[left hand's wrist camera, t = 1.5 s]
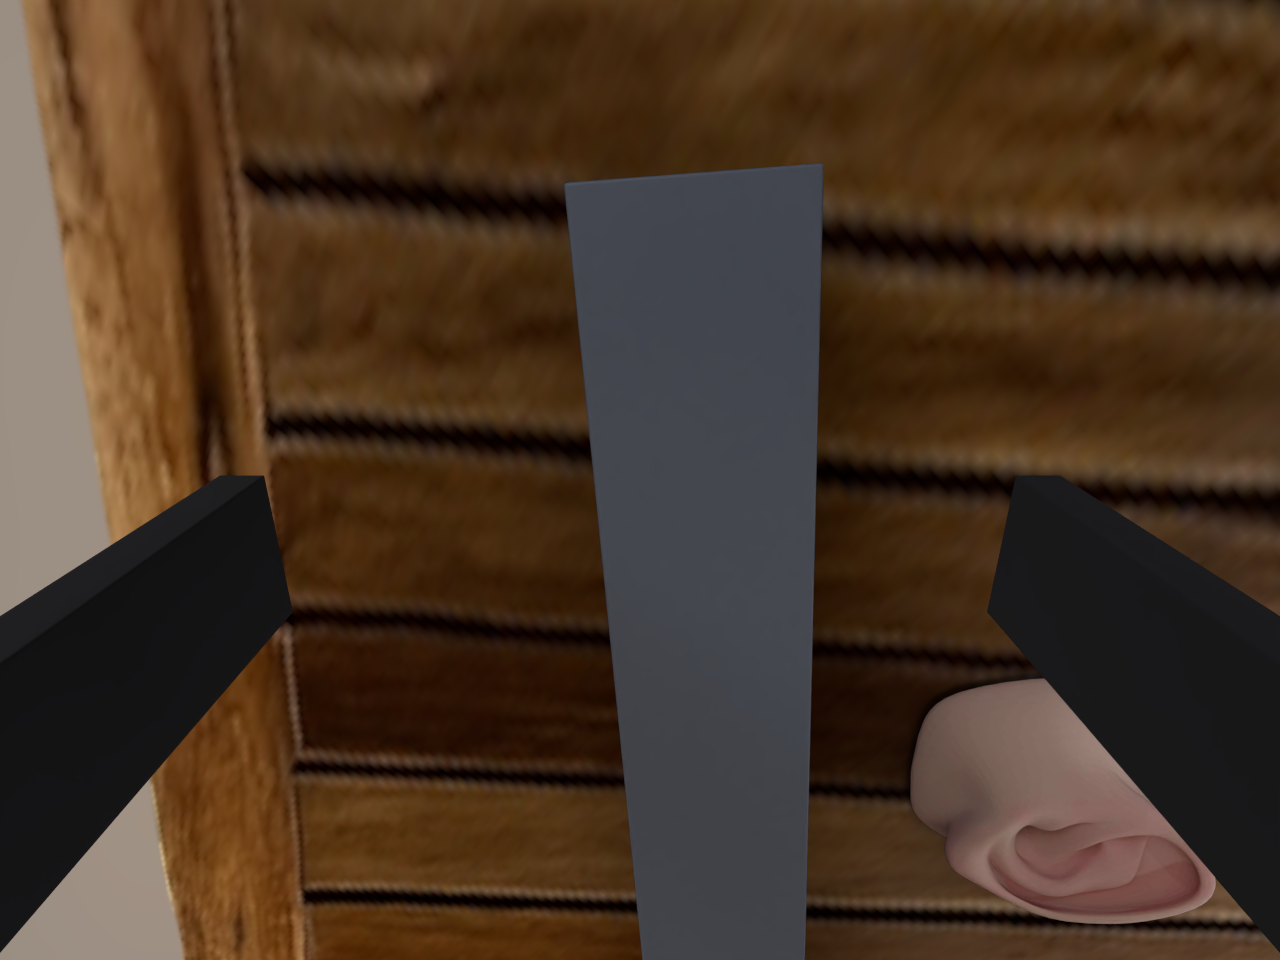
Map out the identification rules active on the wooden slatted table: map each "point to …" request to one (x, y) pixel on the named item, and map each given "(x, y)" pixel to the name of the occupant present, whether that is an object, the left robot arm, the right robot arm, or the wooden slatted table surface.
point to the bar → (707, 535)
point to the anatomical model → (1047, 811)
